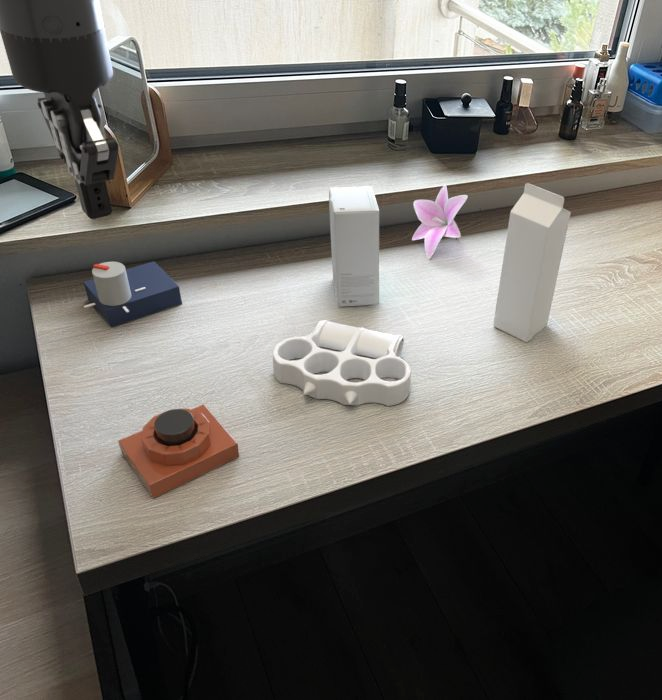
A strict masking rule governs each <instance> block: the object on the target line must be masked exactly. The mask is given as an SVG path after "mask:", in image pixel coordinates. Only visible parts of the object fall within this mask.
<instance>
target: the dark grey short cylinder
mask: <svg viewBox="0 0 662 700" xmlns="http://www.w3.org/2000/svg"><path fill="white" fill-rule="evenodd" d="M182 409H183V408H174V409H173V408H172V409H168V410H169V411H168V410H166V411H163V412H164V413H163V412H161V413H162V414H161V413H160V414H161V415H159V414H158V415H159V416H158V417H157V419H156V420H155V423H154V427H155V431H156V435H157V439H158V441H159V442H160V443H162V444H163V445H166V446H177V445H181V444H184V443H186V442H188V441H190V440H191V439H192V438H193V437H194V435H195V432H196V428H195V423H194V418H193V415H192V414H191V413H190V412H188V411H186V410H182Z"/></svg>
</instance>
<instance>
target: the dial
mask: <svg viewBox="0 0 662 700" xmlns="http://www.w3.org/2000/svg"><path fill="white" fill-rule="evenodd" d="M91 274H92V277H93V279H94V282H95V286H96V289H97V293H98V297H99V301H100V302H101V303H102V304H104V305H107V306H117V305H121V304H124V303H126V302H128V301H129V300H130V298H131V291H130V287H129V282H128V278H127V273H126V266H125V265H124V264H123V263H121V262H119V261H104V262H100V263H95V264H93V268H92V269H91Z"/></svg>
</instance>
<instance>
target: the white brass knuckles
mask: <svg viewBox="0 0 662 700" xmlns="http://www.w3.org/2000/svg"><path fill="white" fill-rule="evenodd" d="M404 343H405V337H404V336H402V334H401V335H400V334H396V335H395V334H391V333H387V332H381V331H378V330H377V331H376V330H371V329H367V328H366V327H362V326H361V327H358V326H353V325H348V324H342V323H338V322H334V321H330V320H328V319H321V320H319V321H318V322H317V323H316V326H315V328H314V330H313V332H312V333H310V334H308V335H306V336H293V337H289V338H286V339H283V340H282V341H280V342H278V343H277V344H276V345H275V346H274V348H273V350H272V364H273V374H274V377H275V379H276V380H277V381H278V382H279V383H281V384H284V385H285V384H286V385H292V386H295V387H298V388H299V389H301V391H302V392H303V393H302V395H307V396H309V397H311V398H314V399H316V400H331V401H334V402H338V403H340V404H341V405H343V406H361V405H363V404H369V403H371V404H373V403H375V404H380V405H384V406H386V407H391V406H395V405H396V406H397V405H398V404H401V403H402V402H404V401H405V400H407V398H408V396H409V395H410V391H411V381H412V379H411V378H412V369H411V367H410V365H409V364H408V362H407V361H405V360H404V359H403V358H401V357H400V356H401V353H402V351H403V347H404ZM295 359H296V360H295ZM323 372H327V373H323ZM317 373H323V374H317ZM385 378H393V379H397V380H395V381H387V380H384V379H385ZM352 379H360V380H363V381H358V382H354V381H353V382H352V381H348V380H352Z"/></svg>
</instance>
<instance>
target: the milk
mask: <svg viewBox="0 0 662 700" xmlns="http://www.w3.org/2000/svg"><path fill="white" fill-rule="evenodd" d="M564 204H565V197H564V196H562V195H561V194H557V193H554V192H553V191H549V190H547V189H545V188H541V187H539V186H536V185H534V184H532V183H530V182H526V183H525V184H524V189H523V194H521V196H520V197H519V199H518V200H517V202H516V203H515V204H514V205H513V207H512V208H511V210H510V213H509V218H508V224H507V225H508V226H507V231H506V232H507V233H506V238H505V246H504V252H503V258H502V264H501V272H500V277H499V285H498V292H497V298H496V303H495V311H494V317H493V324H492V325H493V327H494V328H497V329H498V330H500V331H502V332H504V333H507V335H510V336H513V337H515V338H516V339H518V340H521V341H522V342H525V343H528V342H530V340H531V339H533V338H534V337H535V336H536V335H537V334H539V333H540V332H541V331H542V330H544V329H545V328H546V327H547V326H548V323H549V318H550V313H551V310H552V309H551V308H552V303H553V300H554V295H555V289H556V285H557V281H558V276H559V271H560V267H561V260H562V256H563V252H564V246H565V242H566V238H567V233H568V229H569V222H570V219H571V213H572V212H571V211H570V210H568V209H566V208H564Z"/></svg>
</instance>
